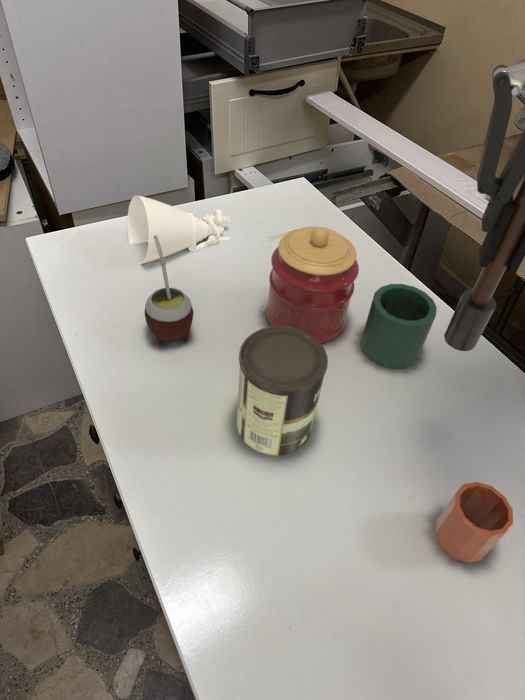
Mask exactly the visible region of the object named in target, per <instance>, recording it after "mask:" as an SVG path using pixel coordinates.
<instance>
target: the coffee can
mask: <svg viewBox="0 0 525 700" xmlns="http://www.w3.org/2000/svg"><path fill="white" fill-rule="evenodd" d="M238 363H239V376H238V394H237V411H236V428H237V431H238V432H237V433H238V434H239V436H240V437H241V440H242V441H243V442H244V444H246V445H247V446H248V447H249V448H251V449H253V450H255V451H256V452H258V453H261V454H264V455H267V456H268V455H269V456H285V455H289V454H292V453H294V452H296V451H298V450H299V449H301V448H302V447H304V446H305V444H306V443H307V442H308V441H309V439H310V437H311V433H312V431H313V425H314V420H315V416H316V412H317V407H318V403H319V398H320V394H321V390H322V386H323V381H324V379H325V378H324V377H325V375H326V372H327V370H328V365H329V364H328V363H329V360H328V354H327V351H326V348H325V347H324V346H323V343H320V342H319V341H318V340H317V339H316V338H314V337H313V336H312V335H310V334H308V333H307V332H305V331H302V330H300V329H297V328H293V327H287V326H272V327H271V326H267V327H263V328H260V329H258V330H256V331H254V332H252V333H251V334H249V335H248V336H247V337H246V338H245V339H244V341H243V342H242V343H241V345H240V348H239V353H238Z"/></svg>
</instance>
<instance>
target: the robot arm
mask: <svg viewBox="0 0 525 700" xmlns="http://www.w3.org/2000/svg"><path fill="white" fill-rule="evenodd" d="M491 78H492V88H493V96H494V100H493V104H492V109H491V113H490V118H489V122H488V127H487V131H486V135H485V140H484V144H483V148H482V153H481V157H480V161H479V167H478V170H477V176H476V187H477V188H476V189H477V192H478V193H479V194H482V195H487V196H488V197H489V200H488V203H487V205H486V207H485V209H484V212H483V214H482V217H481V232H483V233H486V234H485V237H484V239H483V241H482V244H481V246H480V248H479V251H478V257H479V258H478V263H479V265H478V266H479V267H480V268H481V267H482V268H483V267H486V268H487V267H488V265H489V263H490V261H491V259H492V256H493V254H494V252H495V250H496V248H497V246H498V243H499V241H500V239H501V237H502V235H503V233H504V231H505V228H506V226H507V224H508V222H509V220H510V218H511V216H512V213H513V211H514V209H515V208H514V199H515V197H514V193H515V191H516V190H517V188H518V186H519V184H520V182H521V181H522V179H523V177H525V129H524V130H523V132H522V134H521V136H520V137H519V139H518V141H517V143H516V145H515V146H514V148H513V150H512V152H511V154H510V156H509V157H508V159H507V161H506V163H505V165H504V166H503V168H502V170H501V173H499V176H498V177H497V176H496V174H497V170H498V165H499V162H500V157H501V154H502V149H503V146H504V141H505V139H506V135H507V130H508V126H509V122H510V119H511V114H512V109H513V98H515V97H517V96H519V95H520V94H521V92H522V91H523V88H524V84H525V61H523V62H520V63H517V64H514V65H511V66H507V65H506V64H499V65H497V66H496V67H495V68H493V70H492V76H491ZM524 258H525V231H524V233H523V235H522V237H521V239H520V241H519V243H518V245H517V247H516V249H515V251H514V253H513V255H512V257H511V259H510V261H509V263H508V265H507V267H506V270H507V273H510V274H515V275H516V274H517V273H518V270H519V268H520V266H521V264H522V262H523V261H524Z"/></svg>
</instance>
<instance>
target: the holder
mask: <svg viewBox="0 0 525 700" xmlns="http://www.w3.org/2000/svg"><path fill="white" fill-rule="evenodd" d="M512 525H514V510H513V508H512V506H511V504H510V503H509V501H508V499H507V498H506V496H505V495H504V494H503V493H501V492H500V491H499V490H498V489H496V488H495V487H494V486H492V485H490V484H486V483H483V482H479V481H473V482H467V483H463V484H462V485H461V486H460V487H459V488H458V490H457V491H456V492H455V493H454V494H453V496H452V497H451V499H450V500H449V502H448V503H447V505H446V507H445V508H444V510H443V511H442V512H441V514H440V515H439V517H438V519H436V521H435V530H434V536H435V538H436V539H437V542H438V544H439V546H440V548H441V549H442V550H443V551H444V552H445V553H446V554H448V556H450V557H451V558H452V559H454V560H456V561H460V562H464V563H466V564H470V563H475V562H479V561H482V559H483V558H484V557H485V556H486V555H487V554H488V553H489V552H490V551H491V550H492V549H493V547H495V545H496V544H497V543H498V542H499V541H500V540H501V539H502V538H503V537H504V535H505V534H506V533H507V532H508V531H509V530H510V528H511V527H512Z"/></svg>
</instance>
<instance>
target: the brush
mask: <svg viewBox="0 0 525 700" xmlns="http://www.w3.org/2000/svg"><path fill="white" fill-rule="evenodd" d="M523 177H524V178H523V180H522V182H521V184H520V186H519V188H518V190H517V193H516V194H515V197H514V208H515V209H514V211H513V213H512V216H511V218H510V220H509V222H508V224H507V226H506V228H505V231H504V233H503V235H502V237H501V239H500V241H499V243H498V246H497V248H496V250H495V252H494V254H493V256H492V259H491V261H490V263H489V265H488V267H487V268H486V267H482V269H481V271H480V273H479V276H478V278H477V279H476V282H475V284H474V286H473V289H467V290H465V291H464V292H463V293H462V295H461V296H460V299H459V301H458V303H457V304H456V307H455V310H454V312H453V314H452V315H451V319H450V321H449V323H448V325H447V328H446V330H445V332H444V335H443V337H444V338H443V339H444V341H445V343H446V344H447V345H448V346H449V347H451V348H452V349H455V350H457V351H459V352H469V351H472V350H475V348H476V347H477V344H478V342H479V340H480V339H481V337H482V334H483V333H484V331H485V329H486V327H487V325H488V323H489V321H490V320H491V317H492V316H493V313H494V311H495V310H496V307H497V302H496V300H495V298H494V297H493V295H494V294H495V292H496V289H497V287H498V285H499V284H500V281H501V280H502V277H503V275H504V273H505V271H506V270H507V265H508V263H509V261H510V259H511V257H512V255H513V253H514V251H515V249H516V247H517V245H518V243H519V241H520V239H521V237H522V235H523V233H524V231H525V176H523Z"/></svg>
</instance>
